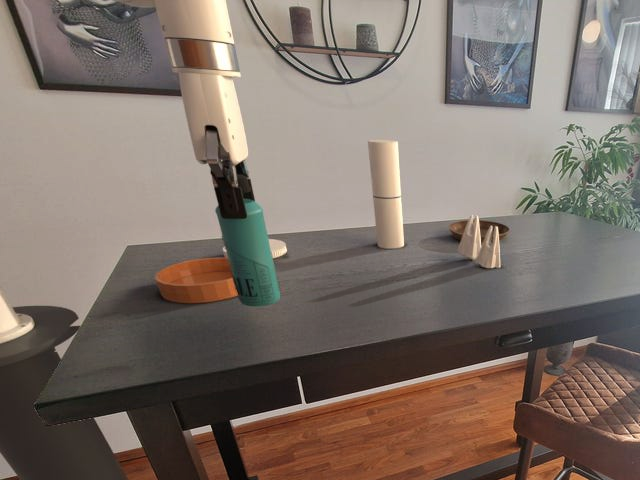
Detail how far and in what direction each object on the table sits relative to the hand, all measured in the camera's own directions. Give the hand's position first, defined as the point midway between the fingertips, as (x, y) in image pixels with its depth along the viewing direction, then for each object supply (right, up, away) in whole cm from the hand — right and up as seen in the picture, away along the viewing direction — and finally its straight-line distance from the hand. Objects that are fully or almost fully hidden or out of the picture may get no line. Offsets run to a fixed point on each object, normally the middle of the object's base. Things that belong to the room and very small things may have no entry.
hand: (239, 211), depth 64 cm
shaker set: (+35, +5, +46) cm, 58 cm away
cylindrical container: (+11, +13, +57) cm, 59 cm away
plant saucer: (+35, +18, +66) cm, 76 cm away
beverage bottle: (-1, -13, +8) cm, 15 cm away
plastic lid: (-20, +6, +44) cm, 49 cm away
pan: (-21, -5, +27) cm, 34 cm away
